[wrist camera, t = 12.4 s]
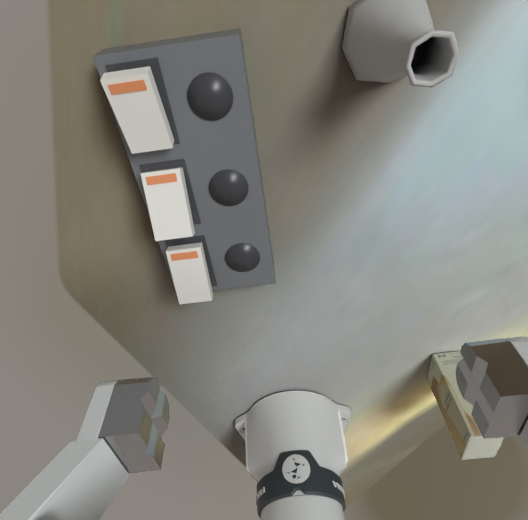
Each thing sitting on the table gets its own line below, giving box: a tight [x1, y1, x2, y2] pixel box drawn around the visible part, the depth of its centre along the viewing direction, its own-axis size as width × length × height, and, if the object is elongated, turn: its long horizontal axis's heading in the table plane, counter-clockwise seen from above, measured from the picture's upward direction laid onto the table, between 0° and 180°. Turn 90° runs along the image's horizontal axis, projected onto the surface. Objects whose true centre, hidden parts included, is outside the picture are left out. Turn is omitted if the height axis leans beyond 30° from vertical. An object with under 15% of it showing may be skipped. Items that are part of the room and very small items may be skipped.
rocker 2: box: [166, 242, 213, 304], centre depth 40 cm, size 6×3×1 cm, turn 7°
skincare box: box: [427, 351, 504, 460], centre depth 53 cm, size 6×4×12 cm
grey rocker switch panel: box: [93, 29, 276, 294], centre depth 37 cm, size 24×11×4 cm, turn 7°
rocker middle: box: [140, 167, 195, 241], centre depth 35 cm, size 6×3×1 cm, turn 7°
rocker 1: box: [100, 66, 174, 154], centre depth 30 cm, size 6×3×1 cm, turn 7°
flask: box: [342, 0, 460, 87], centre depth 28 cm, size 7×7×10 cm
